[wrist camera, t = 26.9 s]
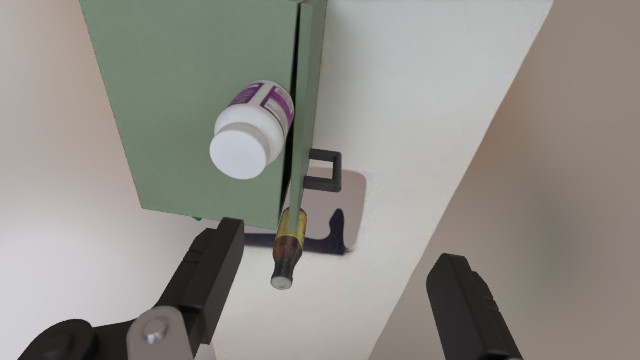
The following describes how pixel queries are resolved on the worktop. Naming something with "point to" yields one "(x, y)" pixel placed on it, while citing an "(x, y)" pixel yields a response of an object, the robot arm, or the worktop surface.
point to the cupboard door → (309, 111)
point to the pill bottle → (252, 129)
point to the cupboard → (194, 96)
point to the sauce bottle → (287, 250)
